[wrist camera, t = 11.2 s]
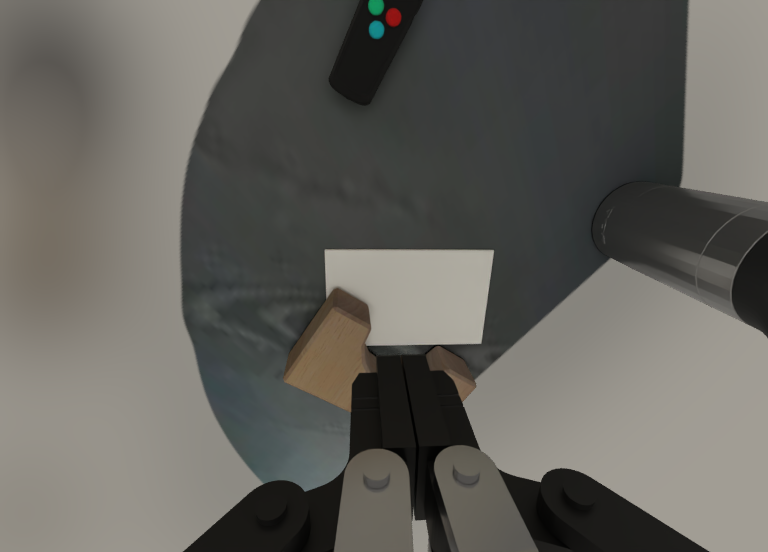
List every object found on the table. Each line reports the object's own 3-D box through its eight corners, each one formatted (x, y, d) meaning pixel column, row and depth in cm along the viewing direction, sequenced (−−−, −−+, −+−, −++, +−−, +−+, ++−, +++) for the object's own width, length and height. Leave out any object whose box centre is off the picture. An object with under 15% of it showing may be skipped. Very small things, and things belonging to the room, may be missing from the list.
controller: (429, -15, 34) (458, -72, 24) (367, 115, 37) (371, 109, 28) (388, -44, 33) (401, -115, 23) (327, 92, 36) (318, 77, 27)
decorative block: (334, 305, 38) (479, 385, 43) (335, 284, 43) (464, 358, 49) (280, 383, 40) (424, 449, 46) (287, 354, 45) (415, 416, 51)
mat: (492, 249, 43) (494, 250, 43) (480, 342, 48) (481, 343, 47) (325, 248, 42) (324, 249, 41) (328, 344, 46) (328, 346, 46)
